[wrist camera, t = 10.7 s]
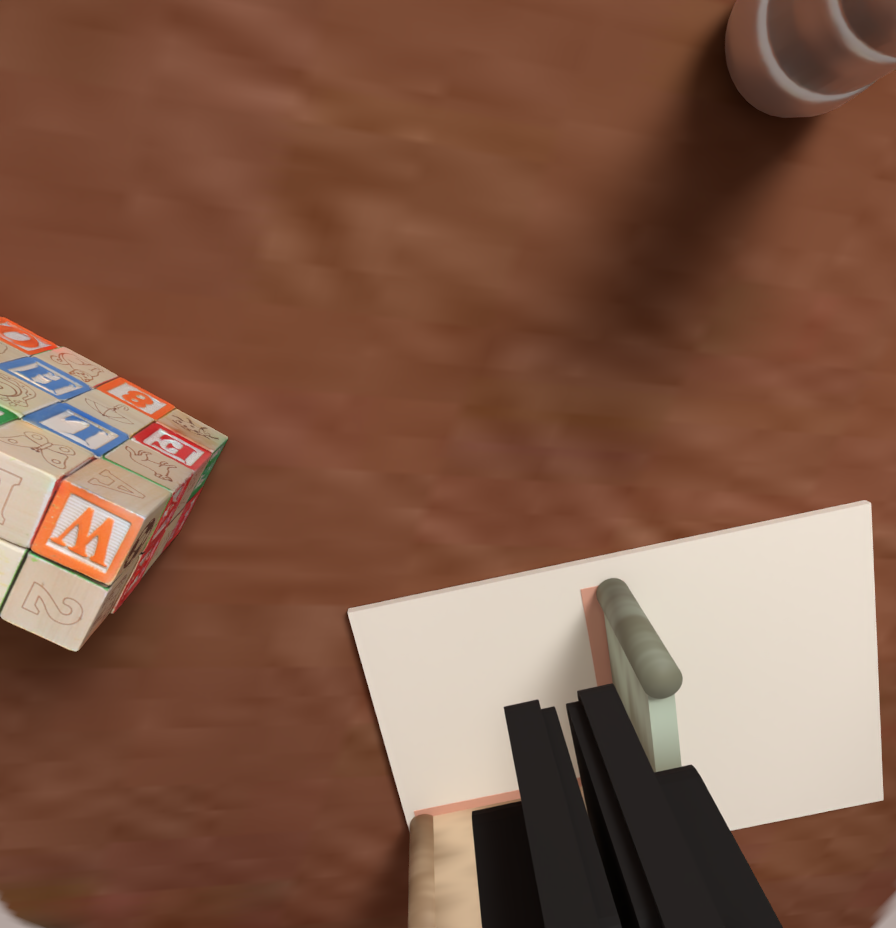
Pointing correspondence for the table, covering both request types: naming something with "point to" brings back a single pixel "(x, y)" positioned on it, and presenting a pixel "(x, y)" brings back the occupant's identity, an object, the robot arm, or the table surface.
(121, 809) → the table surface
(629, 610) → the swing panel
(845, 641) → the card
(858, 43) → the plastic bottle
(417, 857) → the fixed fence
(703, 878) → the robot arm
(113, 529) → the stack of blocks
